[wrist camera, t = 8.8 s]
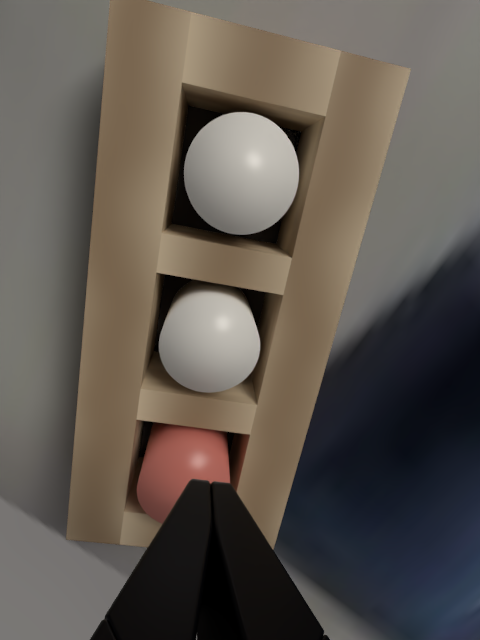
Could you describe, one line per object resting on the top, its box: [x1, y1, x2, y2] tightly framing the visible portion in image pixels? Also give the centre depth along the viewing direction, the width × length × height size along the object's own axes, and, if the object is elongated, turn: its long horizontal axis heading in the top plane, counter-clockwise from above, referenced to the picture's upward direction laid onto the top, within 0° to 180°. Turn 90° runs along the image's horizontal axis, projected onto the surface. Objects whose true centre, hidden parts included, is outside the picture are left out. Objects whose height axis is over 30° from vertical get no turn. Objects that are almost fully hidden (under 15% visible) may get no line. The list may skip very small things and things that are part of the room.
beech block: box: [66, 0, 411, 549], centre depth 18 cm, size 10×22×4 cm, turn 169°
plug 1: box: [184, 112, 299, 235], centre depth 16 cm, size 4×4×4 cm
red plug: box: [137, 422, 230, 524], centre depth 19 cm, size 4×4×4 cm
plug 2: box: [159, 279, 260, 393], centre depth 18 cm, size 4×4×4 cm
